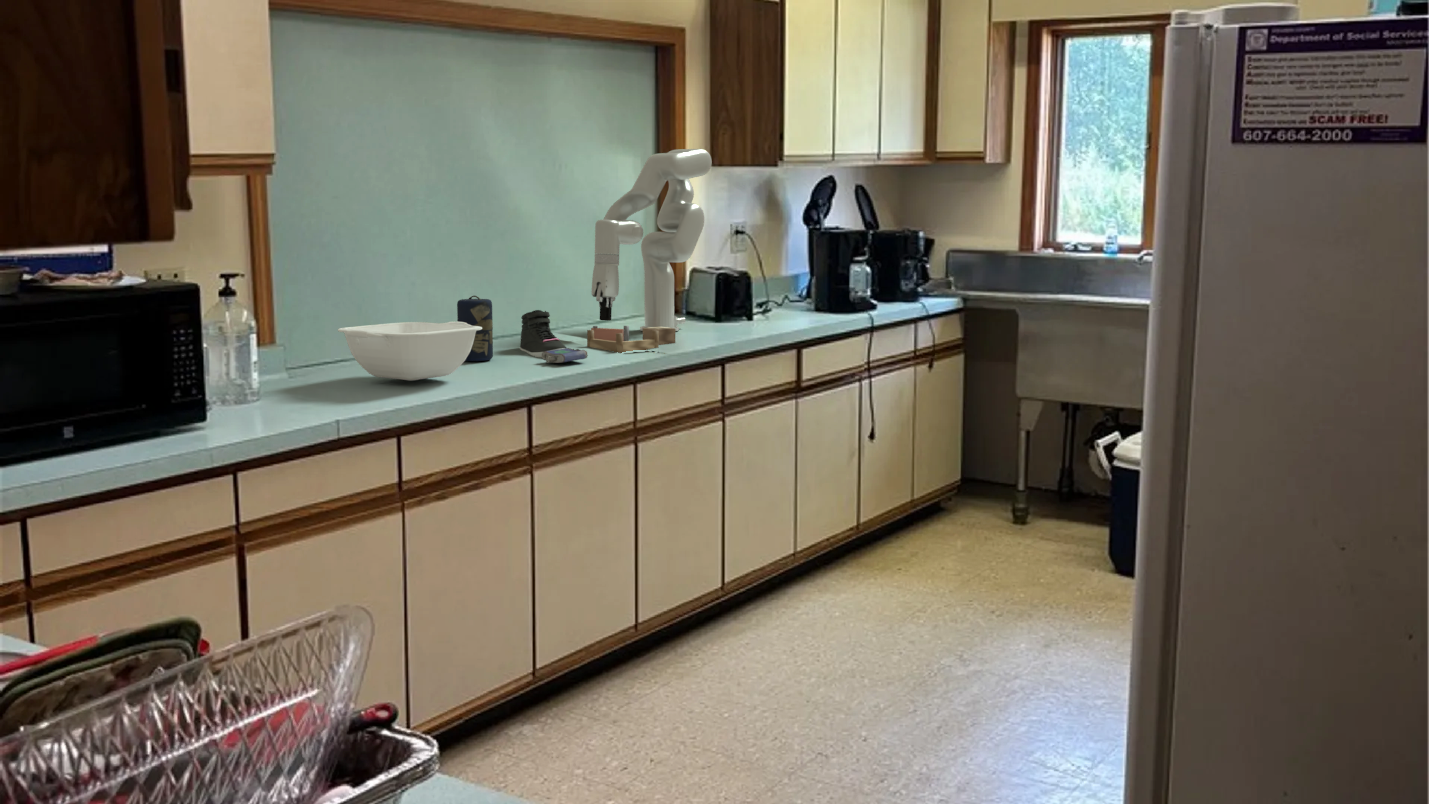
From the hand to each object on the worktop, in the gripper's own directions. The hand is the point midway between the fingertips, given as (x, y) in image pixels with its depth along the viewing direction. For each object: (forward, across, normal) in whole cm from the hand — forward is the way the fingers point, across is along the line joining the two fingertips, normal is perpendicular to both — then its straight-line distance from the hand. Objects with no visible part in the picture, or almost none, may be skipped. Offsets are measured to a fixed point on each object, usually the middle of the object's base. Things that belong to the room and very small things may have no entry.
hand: (605, 320), depth 422 cm
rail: (+8, +4, +10) cm, 13 cm away
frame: (+8, +13, +13) cm, 20 cm away
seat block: (+8, +1, +19) cm, 20 cm away
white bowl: (+12, +90, -8) cm, 91 cm away
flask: (+10, +44, +13) cm, 47 cm away
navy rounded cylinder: (+10, +54, -12) cm, 56 cm away
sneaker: (+10, +34, -3) cm, 35 cm away
